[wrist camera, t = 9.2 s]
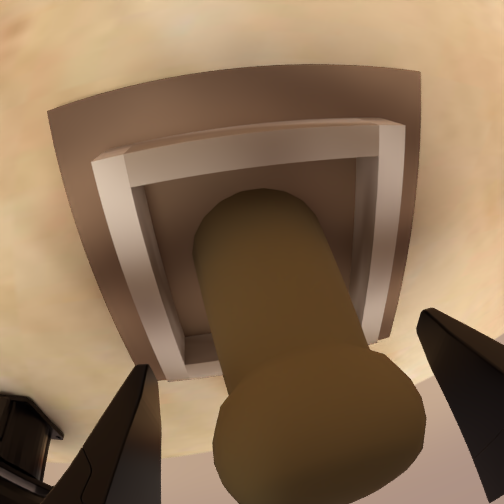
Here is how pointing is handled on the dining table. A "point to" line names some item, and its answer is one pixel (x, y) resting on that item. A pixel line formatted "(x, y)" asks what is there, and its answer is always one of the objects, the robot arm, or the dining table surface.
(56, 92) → the dining table surface
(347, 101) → the socket board
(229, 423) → the cork
